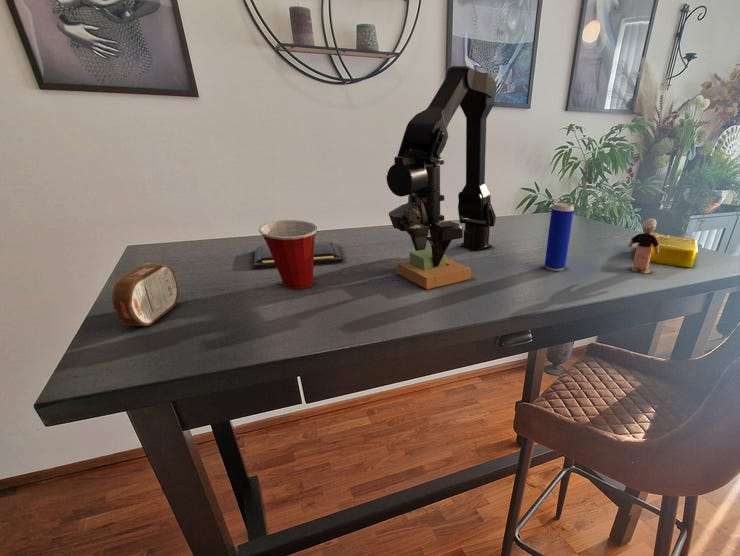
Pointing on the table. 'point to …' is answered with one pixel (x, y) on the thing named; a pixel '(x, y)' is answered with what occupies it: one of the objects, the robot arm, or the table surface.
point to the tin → (145, 294)
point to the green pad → (425, 259)
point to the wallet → (322, 254)
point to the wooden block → (435, 274)
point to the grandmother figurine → (644, 246)
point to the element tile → (674, 250)
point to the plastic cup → (292, 250)
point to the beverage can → (559, 236)
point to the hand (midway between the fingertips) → (428, 262)
